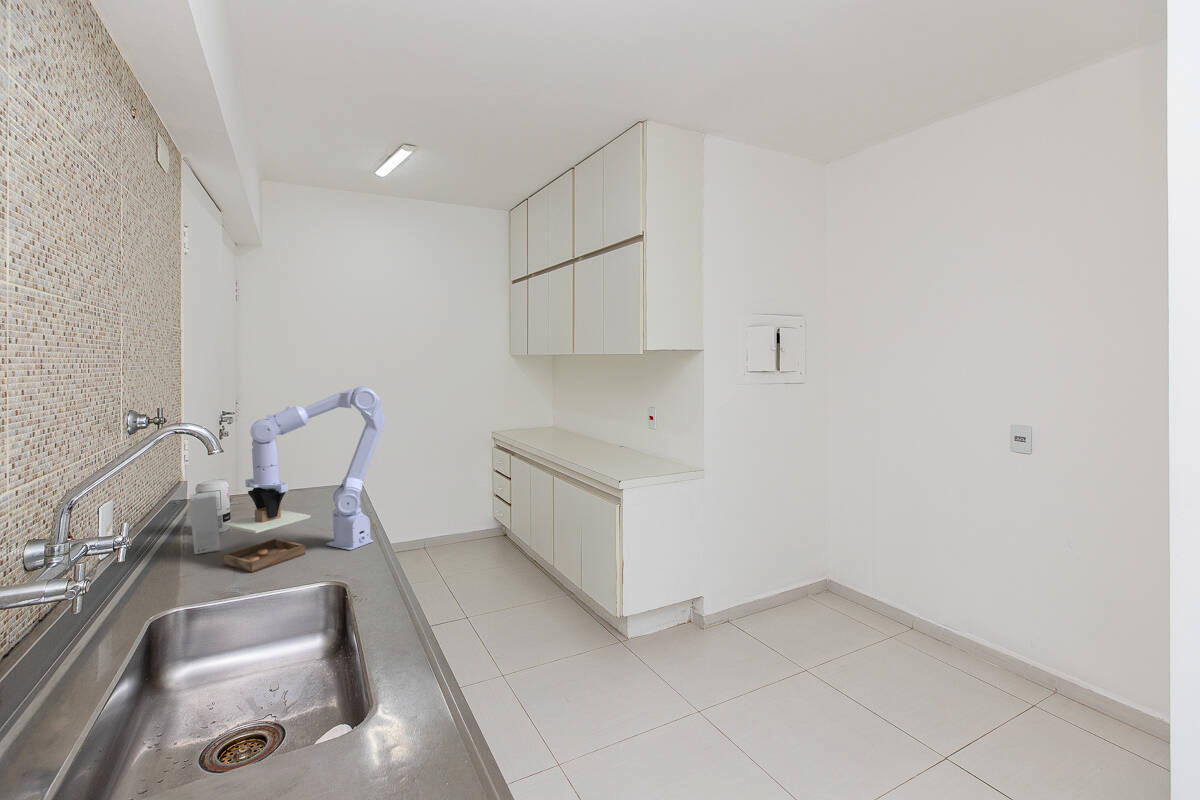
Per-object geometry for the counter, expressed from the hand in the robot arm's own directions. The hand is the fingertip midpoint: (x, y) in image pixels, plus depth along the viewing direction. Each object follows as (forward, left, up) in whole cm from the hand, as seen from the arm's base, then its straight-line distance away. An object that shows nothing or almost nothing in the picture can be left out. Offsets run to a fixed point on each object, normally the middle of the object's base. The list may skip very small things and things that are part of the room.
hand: (268, 516), depth 146 cm
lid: (0, 0, -1) cm, 1 cm away
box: (-2, +3, -10) cm, 11 cm away
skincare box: (+20, +5, -11) cm, 23 cm away
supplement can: (+34, -5, -11) cm, 36 cm away
